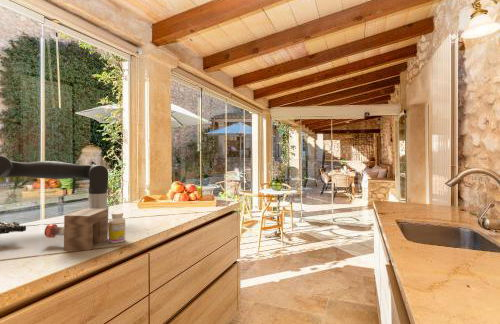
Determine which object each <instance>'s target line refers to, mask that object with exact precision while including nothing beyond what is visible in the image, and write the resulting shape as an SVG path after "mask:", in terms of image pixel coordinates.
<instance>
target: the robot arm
mask: <svg viewBox="0 0 500 324" xmlns="http://www.w3.org/2000/svg"><path fill="white" fill-rule="evenodd" d="M17 177H19V178H21V177H22V178H23V177H25V178H34V179H50V180H68V179H85V180H87V179H88V180H89V182H88V183H89V186H88V202H87V203H88V207H87V208H89V209H108V210H109V205H108V187H109V171H108V169H107V167H106V166H105V165H102V164H75V163H69V162H64V161H53V160H41V161H40V160H39V161H31V162H21V161H12V160H10V158H8V157H7V156H5V155H0V178H17ZM26 230H27V226H26V225H20V223H19V222H15V221H13V222H12V223H11V222H10V223H9V222H1V221H0V235H3V234H10V233H15V232H17V233H18V232H19V233H20V232H21V233H22V232H26Z"/></svg>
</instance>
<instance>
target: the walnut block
mask: <svg viewBox="0 0 500 324" xmlns="http://www.w3.org/2000/svg"><path fill="white" fill-rule="evenodd" d="M63 220H64V221H63V222H64V223H63V224H64V225H63V227H64V236H63V250H64V251H90V250H91V249H93V247H94V245H93V244H101V243H103V242H105V241H106V240H109V208H108V209H89V208H88V207H86V208H84V209H81V210H78V211H75V212H72V213H68V214H65V215H64V218H63Z"/></svg>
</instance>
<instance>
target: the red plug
mask: <svg viewBox="0 0 500 324" xmlns="http://www.w3.org/2000/svg"><path fill="white" fill-rule="evenodd" d="M44 236H45V237H46V238H48V239H49V238H50V239H51V238H52V239H53V238H55V237H57V236H63V237H64V226H59V225H57V224H56V223H55V224H54V223H53V224H52V223H49V224H47V225H46V226H45V228H44Z"/></svg>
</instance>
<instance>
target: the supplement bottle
mask: <svg viewBox="0 0 500 324" xmlns="http://www.w3.org/2000/svg"><path fill="white" fill-rule="evenodd" d="M123 216H124V212H122V211H117V212H116V211H115V212H112V213H111V217H112V218H110V219H109V220H108V242H109V243H113V244H117V243H119V244H120V243H124V241H125V240H126V219H125V217H123Z"/></svg>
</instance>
